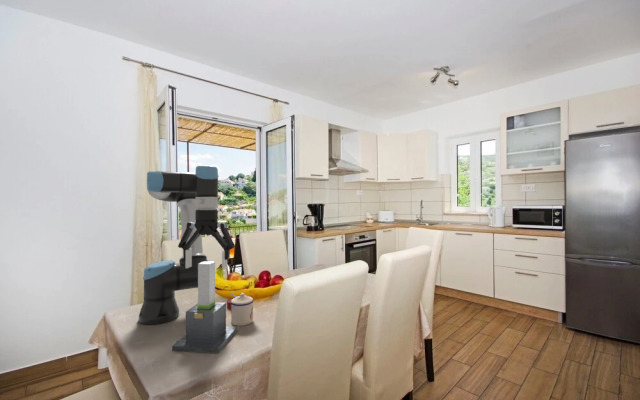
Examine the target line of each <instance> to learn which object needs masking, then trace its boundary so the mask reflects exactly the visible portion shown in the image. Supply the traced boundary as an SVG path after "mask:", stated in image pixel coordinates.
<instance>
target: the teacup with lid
mask: <svg viewBox="0 0 640 400" xmlns="http://www.w3.org/2000/svg"><path fill="white" fill-rule="evenodd" d="M230 310H231V311H230V312H231V315H230V316H231V318H230V320H231V324H232V325H233V326H235V327H236V326H238V327H242V326H248V325H249V324H252V322H253V321H254V298H253V297H252V296H248V295H246V294H245V293H244V292H241V294H240V296H238V297H236V298H233V299H232V300H231V309H230Z"/></svg>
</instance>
